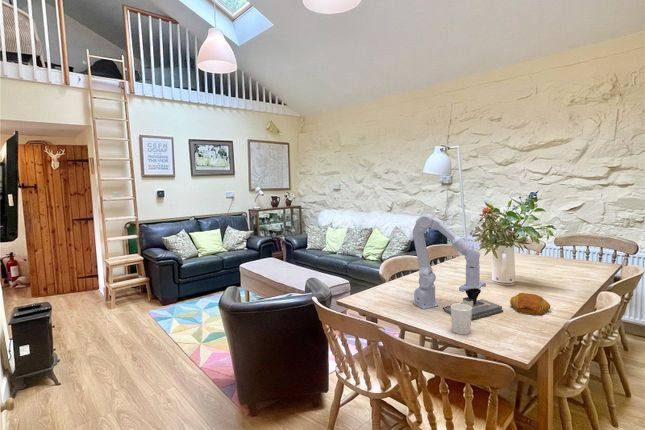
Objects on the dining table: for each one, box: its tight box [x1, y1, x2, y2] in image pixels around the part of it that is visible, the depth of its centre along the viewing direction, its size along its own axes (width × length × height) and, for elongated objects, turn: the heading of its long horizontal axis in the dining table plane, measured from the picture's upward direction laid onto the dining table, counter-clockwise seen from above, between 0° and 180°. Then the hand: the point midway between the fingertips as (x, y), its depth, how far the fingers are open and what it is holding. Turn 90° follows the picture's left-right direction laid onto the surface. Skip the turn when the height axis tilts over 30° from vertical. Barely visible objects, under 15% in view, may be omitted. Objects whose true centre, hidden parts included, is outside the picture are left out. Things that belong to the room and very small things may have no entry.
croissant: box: [509, 292, 551, 316], centre depth 158 cm, size 14×16×8 cm
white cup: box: [450, 302, 473, 336], centre depth 139 cm, size 8×8×10 cm
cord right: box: [471, 309, 504, 322], centre depth 153 cm, size 20×1×1 cm, turn 114°
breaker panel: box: [443, 298, 503, 318], centre depth 160 cm, size 24×11×3 cm, turn 114°
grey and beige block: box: [462, 296, 473, 307], centre depth 158 cm, size 2×4×4 cm
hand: (472, 304), depth 160 cm, fingers closed
